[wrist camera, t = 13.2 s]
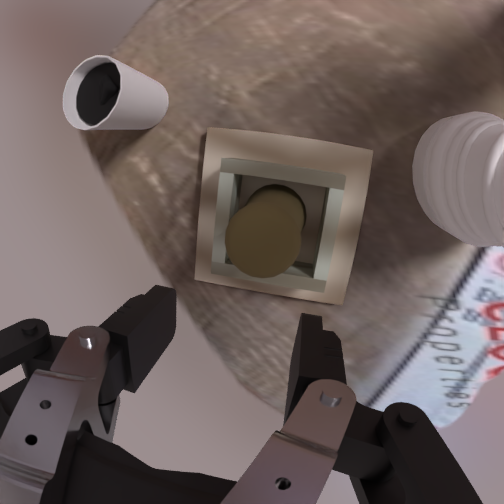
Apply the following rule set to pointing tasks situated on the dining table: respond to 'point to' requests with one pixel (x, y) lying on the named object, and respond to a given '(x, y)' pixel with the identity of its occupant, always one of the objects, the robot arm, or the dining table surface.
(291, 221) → the brown rounded tapered piece
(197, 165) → the dining table surface
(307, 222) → the stand
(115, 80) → the white cup
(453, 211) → the honey pot
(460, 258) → the dining table surface
